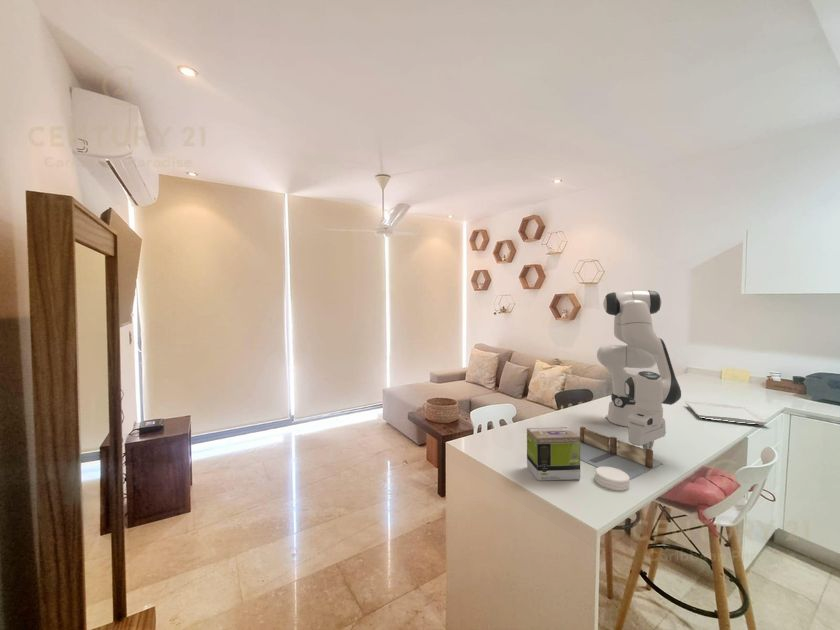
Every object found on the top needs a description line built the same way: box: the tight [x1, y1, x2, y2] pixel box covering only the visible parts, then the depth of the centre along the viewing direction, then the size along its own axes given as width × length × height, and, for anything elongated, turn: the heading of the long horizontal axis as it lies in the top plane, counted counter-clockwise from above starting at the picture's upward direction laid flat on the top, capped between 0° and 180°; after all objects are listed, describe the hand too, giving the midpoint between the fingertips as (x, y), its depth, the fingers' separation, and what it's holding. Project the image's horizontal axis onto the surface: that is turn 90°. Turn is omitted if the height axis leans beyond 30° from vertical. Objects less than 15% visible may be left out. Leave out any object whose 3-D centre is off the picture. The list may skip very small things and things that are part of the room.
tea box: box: [526, 426, 581, 481], centre depth 117 cm, size 15×10×15 cm
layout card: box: [580, 442, 664, 480], centre depth 131 cm, size 24×28×1 cm
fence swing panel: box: [616, 439, 654, 469], centre depth 126 cm, size 13×2×6 cm, turn 31°
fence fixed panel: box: [579, 426, 618, 455], centre depth 139 cm, size 2×15×6 cm, turn 31°
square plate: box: [684, 401, 769, 426], centre depth 181 cm, size 27×27×4 cm
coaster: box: [594, 467, 631, 492], centre depth 112 cm, size 10×10×4 cm
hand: (647, 452), depth 127 cm, fingers closed
